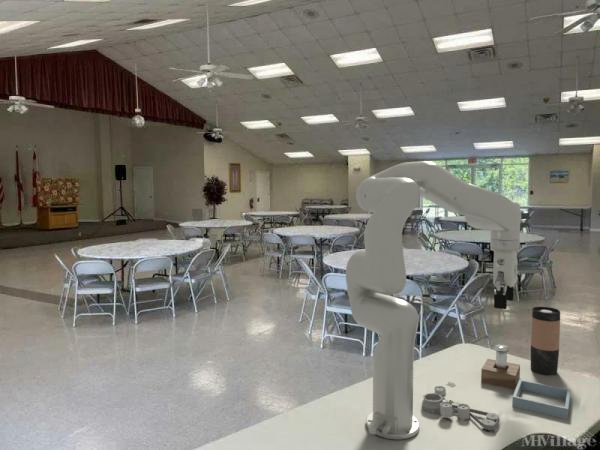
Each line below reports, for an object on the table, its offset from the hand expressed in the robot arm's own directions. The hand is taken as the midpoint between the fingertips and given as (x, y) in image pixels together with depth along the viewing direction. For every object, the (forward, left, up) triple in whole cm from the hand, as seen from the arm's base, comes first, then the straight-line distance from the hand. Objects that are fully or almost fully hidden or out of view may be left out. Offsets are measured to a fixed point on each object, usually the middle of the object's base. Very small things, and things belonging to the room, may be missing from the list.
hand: (503, 304), depth 132 cm
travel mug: (+14, -10, -24) cm, 30 cm away
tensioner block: (0, 0, -24) cm, 24 cm away
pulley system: (-22, +9, -25) cm, 34 cm away
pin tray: (-9, -11, -24) cm, 28 cm away
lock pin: (0, 0, -23) cm, 23 cm away
